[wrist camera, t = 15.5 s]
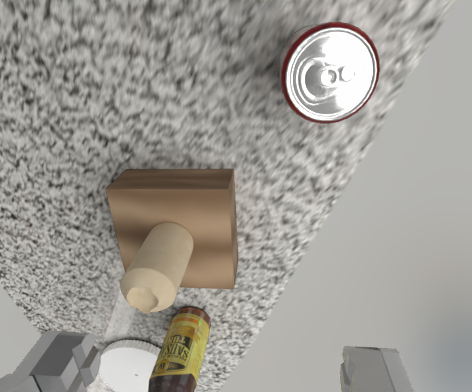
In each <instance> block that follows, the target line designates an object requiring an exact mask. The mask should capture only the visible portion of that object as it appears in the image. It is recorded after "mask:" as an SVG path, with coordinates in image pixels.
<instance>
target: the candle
mask: <svg viewBox="0 0 472 392" xmlns="http://www.w3.org/2000/svg"><path fill="white" fill-rule="evenodd" d="M193 245H194V243H193V238H192V236H191V234H190V233H189V231H188V230H187V229H185V228H184V227H183V226H181V225H179V224H176V223H171V222H165V223H161V224H158V225H157V226H155V227H154V228H153V229H152V230H151V232H150V233H149V235H148V236H147V238H146V239H145V241H144V243H143V244H142V246H141V248H140V249H139V251H138V253H137V254H136V256H135V257H134V259H133V261H132V262H131V264H130V266H129V267H128V269H127V270H126V272H125V274H124V275H123V277H122V279H121V283H120V287H121V291H122V294H123V295H124V297H125V299H126V300H127V301H128V303H129V304H130V306H131V307H134V308H137V309H139V310H140V311H141V312H142V313H145V314H147V313H150V312H156V311H161V310H164V309H167V308H168V307H170V306H171V305H172V304H173V302H174V300H175V297H176V295H177V292H178V289H179V287H180V284H181V281H182V278H183V276H184V273H185V270H186V267H187V265H188V262H189V259H190V257H191V254H192V251H193Z"/></svg>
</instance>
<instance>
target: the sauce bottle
mask: <svg viewBox="0 0 472 392" xmlns="http://www.w3.org/2000/svg"><path fill="white" fill-rule="evenodd" d="M210 326H211V324H210V318H209V316H208V315H207V314H206V313H205V312H204V311H203V310H200V309H198V308H194V307H185V308H183V309H181V310H179V311H178V312H177V313H176V314H175V316H174V318H173V320H172V322H171V324H170V327H169V329H168V332H167V334H166V337H165V340H164V342H163V345H162V348H161V350H160V353H159V355H158V358H157V360H156V363H155V366H154V368H153V371H152V374H151V376H150V379H149V386H148V392H194V389H195V388H196V385H197V381H198V377H199V373H200V369H201V365H202V361H203V357H204V353H205V349H206V345H207V341H208V337H209V332H210Z"/></svg>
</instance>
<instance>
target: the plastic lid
mask: <svg viewBox="0 0 472 392" xmlns="http://www.w3.org/2000/svg"><path fill="white" fill-rule="evenodd" d="M160 350H161V349H159V347H156V346H153V344H149V343H146V342H142V341H139V340H137V341H135V340H123V341H122V340H120V341H117V342H114V343H112V344H110V345H109V346H107V347H106V348H105V349H104V351H103V352H102V354H101V363H100V368H99V372H98V373H99V375H100V377H101V378H102V380H103V382H105V384H107V386H109V387H110V388H112V390H115V392H148V386H149V379H150V376H151V374H152V371H153V368H154V366H155V363H156V360H157V358H158V355H159V353H160Z"/></svg>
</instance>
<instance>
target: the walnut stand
mask: <svg viewBox="0 0 472 392" xmlns="http://www.w3.org/2000/svg"><path fill="white" fill-rule="evenodd" d="M106 193H107V198H108V202H109V206H110V210H111V214H112V219H113V223H114V227H115V231H116V236H117V240H118V244H119V248H120V252H121V257H122V261H123V265H124V269H125V272H126V270H127V269H128V267H129V266H130V264H131V262H132V261H133V259H134V257H135V256H136V254H137V253H138V251H139V249H140V248H141V246H142V244H143V243H144V241H145V239H146V238H147V236H148V235H149V233H150V232H151V230H152V229H153V228H154V227H155V226H157V225H158V224H161V223H165V222H171V223H176V224H179V225H181V226H183V227H184V228H185V229H187V230H188V231H189V233H190V234H191V236H192V238H193V243H194V245H193V251H192V254H191V257H190V259H189V262H188V265H187V267H186V270H185V273H184V276H183V278H182V281H181V284H180V287H188V288H215V289H234V285H235V278H236V272H237V265H238V244H237V223H236V202H235V182H234V169H126V170H125V171H124V172H123V173H122V174H121V175H120V176H119V177H118V178H117V179H115V180H114V181H113V182H112V183H111V184H110V185H109V186H108V187H107V188H106Z"/></svg>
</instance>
